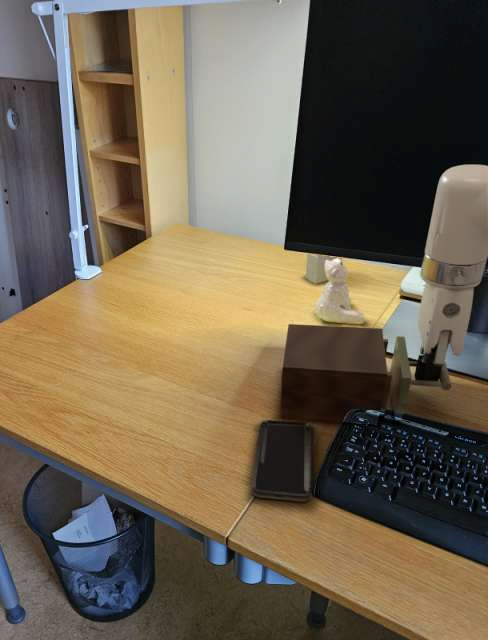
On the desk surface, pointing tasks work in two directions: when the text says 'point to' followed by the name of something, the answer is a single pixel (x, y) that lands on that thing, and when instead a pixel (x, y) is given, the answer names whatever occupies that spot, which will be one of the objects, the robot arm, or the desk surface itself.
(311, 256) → the cream upright block
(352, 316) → the sitting furry creature
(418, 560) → the desk surface
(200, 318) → the desk surface
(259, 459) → the phone
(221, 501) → the desk surface
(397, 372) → the drawer
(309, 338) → the cabinet
